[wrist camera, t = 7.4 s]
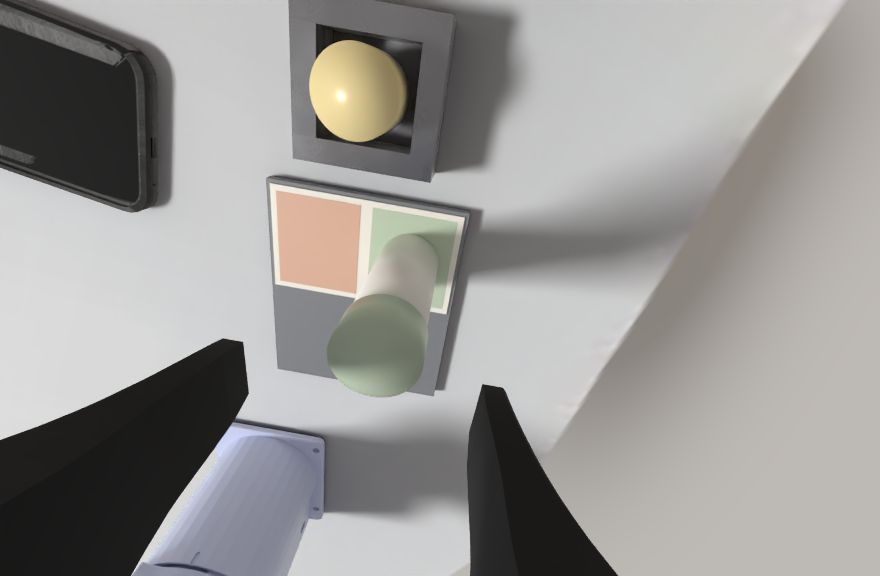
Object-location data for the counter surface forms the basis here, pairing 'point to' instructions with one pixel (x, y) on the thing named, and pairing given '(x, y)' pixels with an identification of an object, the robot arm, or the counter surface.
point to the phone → (76, 109)
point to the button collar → (357, 12)
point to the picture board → (348, 265)
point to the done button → (358, 90)
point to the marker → (387, 321)
